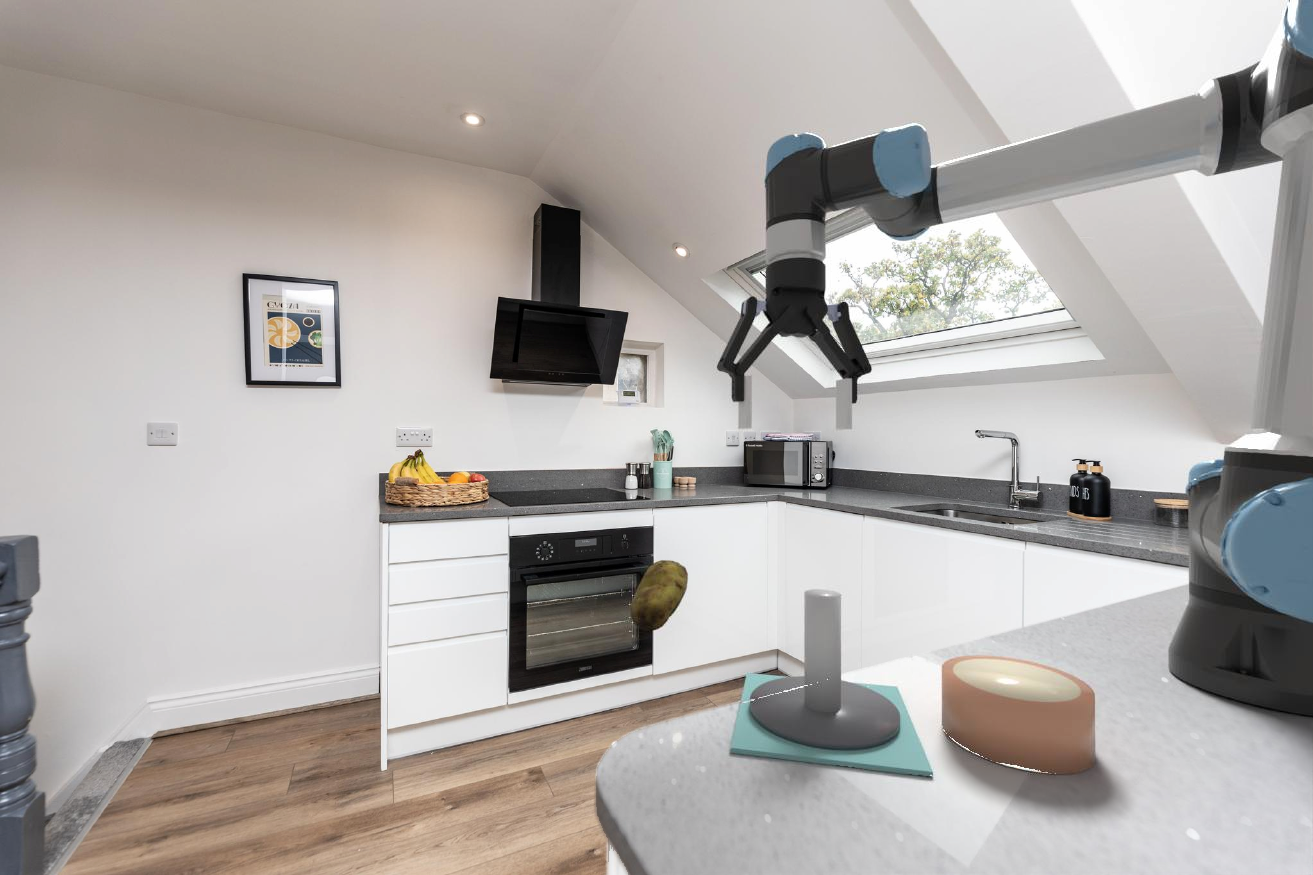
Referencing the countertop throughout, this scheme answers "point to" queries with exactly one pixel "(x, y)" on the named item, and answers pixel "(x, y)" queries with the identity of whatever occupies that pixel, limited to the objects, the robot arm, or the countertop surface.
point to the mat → (890, 757)
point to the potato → (658, 594)
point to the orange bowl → (1019, 713)
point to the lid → (824, 691)
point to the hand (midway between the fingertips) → (795, 429)
